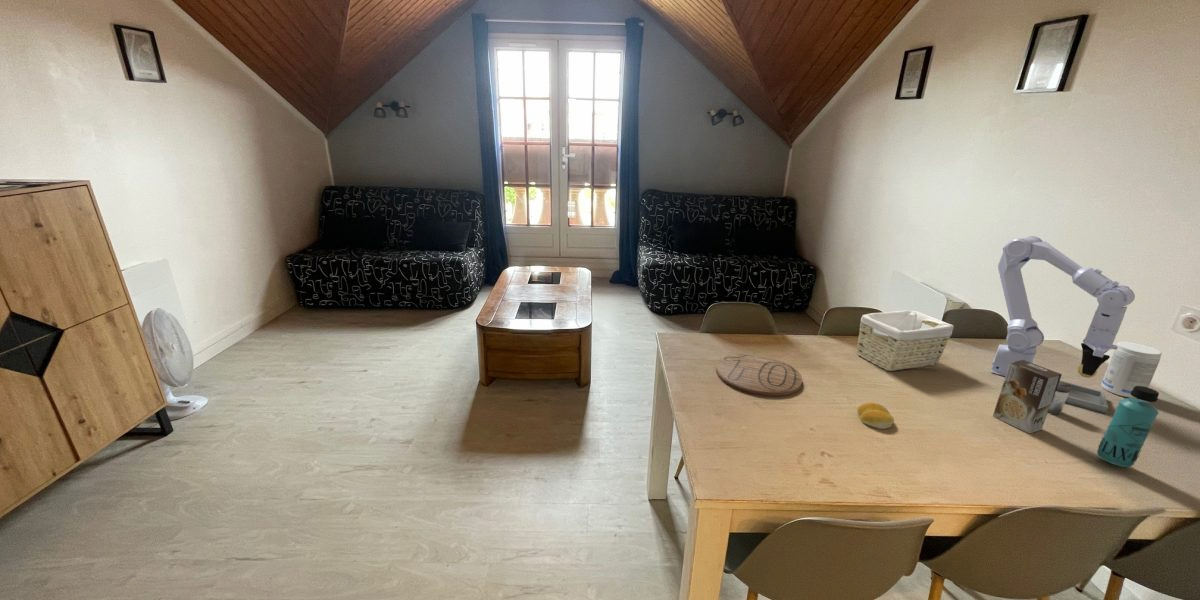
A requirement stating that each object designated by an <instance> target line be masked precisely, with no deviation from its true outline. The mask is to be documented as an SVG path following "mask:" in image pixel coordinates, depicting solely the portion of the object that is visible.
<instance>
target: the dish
mask: <svg viewBox="0 0 1200 600" xmlns="http://www.w3.org/2000/svg"><path fill="white" fill-rule="evenodd" d="M1060 382H1063V383H1066V384H1068V385H1070V386H1071V387H1072V388H1071V391H1070V392H1069V394H1068V397H1067V399H1066V402H1065V404H1068V405H1069V404H1070V405H1072V406H1076V407H1080V408H1084V409H1087V410H1091V411H1094V412H1098V413H1102V414H1104V415H1105V414H1107V412H1108V409H1109V405H1108V401H1107V397H1106V393H1105V391H1102V390H1098V389H1096V388H1095V389H1094V388H1090V387H1086V386H1083V385H1079V384H1074V383H1071V382H1067V381H1063V380H1060Z"/></svg>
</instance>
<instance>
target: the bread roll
mask: <svg viewBox="0 0 1200 600" xmlns="http://www.w3.org/2000/svg"><path fill="white" fill-rule="evenodd" d="M856 412H857V415H858V417H859V419H860V421H861V422H862V423H863V424H865V425H867V426H869V427H872V428H875V429H880V430H886V429H889V428H891V427H893V425H894V423H895V418H894V417H893V415H892V414H891V413H890V412H889V410H888V409H887V408H886V407H885V406H883V405H882V404H880V403H877V402H866V403H861V405H859V406H858V407H857V410H856Z"/></svg>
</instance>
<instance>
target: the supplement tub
mask: <svg viewBox="0 0 1200 600" xmlns="http://www.w3.org/2000/svg"><path fill="white" fill-rule="evenodd" d="M1116 346H1117V347H1118V348H1117V350H1115V349H1113V352H1112V355H1111V356H1110V360H1109V363H1108V365H1107V368H1106V370H1105V374H1104V376H1103V378H1102V381H1101V384H1100V386H1101V387H1102V388H1103V389H1104V390H1105V391H1107V392H1109V393H1112V394H1114V395H1118V396H1120V397H1125V398H1135V397H1133V396H1132V395H1131V394H1130V393H1131V391H1132V390H1133V388H1134V387H1135V386H1144V387H1148V388H1150V385H1151V383H1152V380H1153V378H1154V375H1155V372H1156V371H1157V369H1158V366H1159V363H1160V361H1161V357H1162V354H1163V353H1162V351H1160V350H1159V349H1157V348H1155V347H1152V346H1148V345H1147V344H1146V345H1145V344H1142V343H1139V342H1138V343H1136V342H1131V341H1119V342H1117V344H1116ZM1135 399H1136V398H1135Z"/></svg>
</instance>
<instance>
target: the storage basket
mask: <svg viewBox="0 0 1200 600" xmlns="http://www.w3.org/2000/svg"><path fill="white" fill-rule="evenodd" d="M923 324H924V325H928V326H930V327H929V328H922V325H923ZM954 328H955V327H954V325H953V324H951V323H948V322H945V321H943V320H941V319H939V318H936V317H934V316H933V317H932V316H929V315H927V314H925V313H923V312H920V311H917V310H896V311H884V312H872V313H867V314H862V316H861V318H860V323H859V334H858V339H857V348H856V351H855V352H856V355H858V356H860V357H862V358H863V359H865V360H867V361H869V362H871V363H872V364H873V365H876V366H878V367H880V368H881V369H883V370H885V371H888V372H892V371H893V372H894V371H899V370H900V371H901V370H908V369H917V368H923V367H931V366H936V365H939V361H940V360H941V357H942V356H943V353H944V352H945V351H944V350H945V348H946V346H947V343H948V341H949V339H950V338H951V336H952V335H953V331H954Z"/></svg>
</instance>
